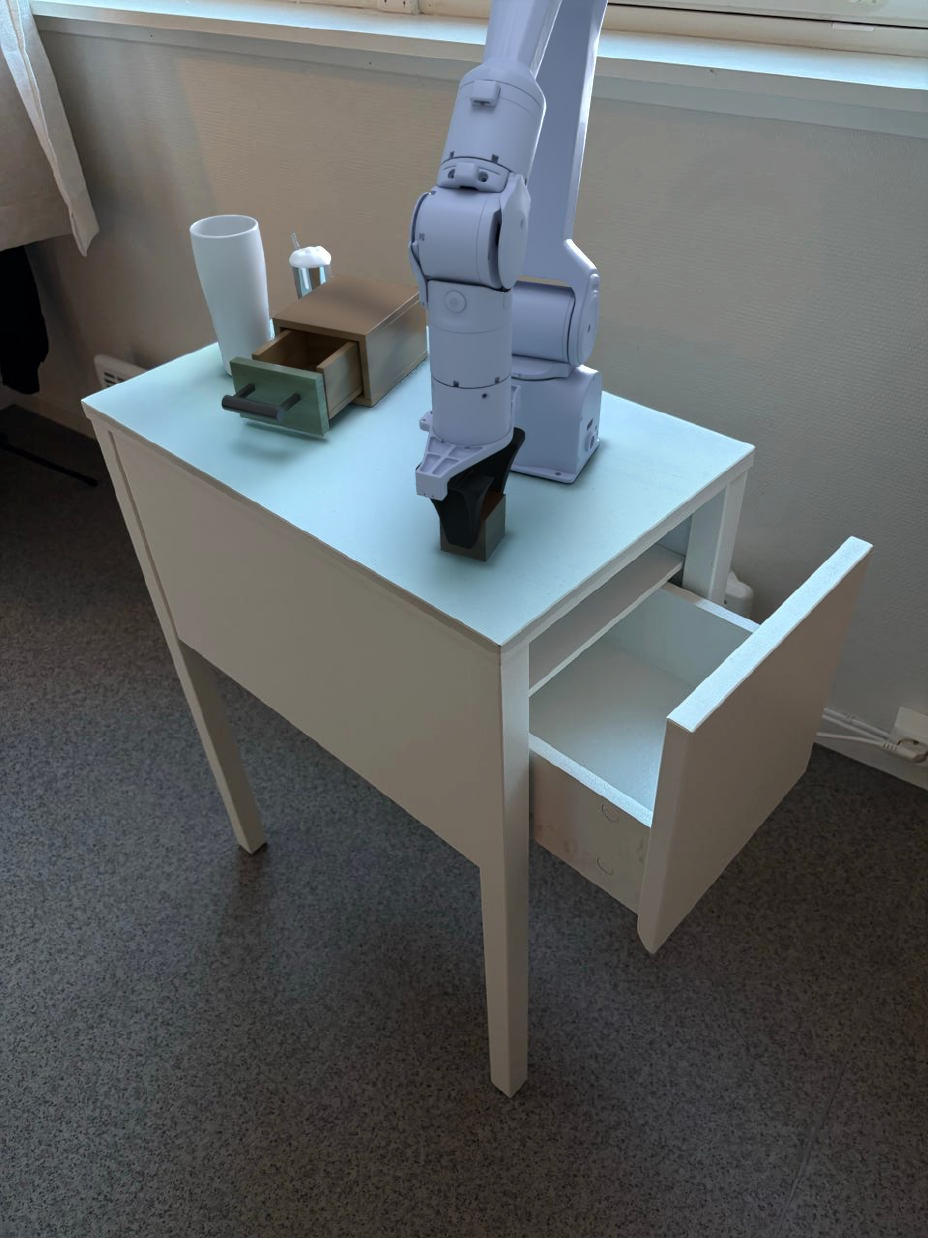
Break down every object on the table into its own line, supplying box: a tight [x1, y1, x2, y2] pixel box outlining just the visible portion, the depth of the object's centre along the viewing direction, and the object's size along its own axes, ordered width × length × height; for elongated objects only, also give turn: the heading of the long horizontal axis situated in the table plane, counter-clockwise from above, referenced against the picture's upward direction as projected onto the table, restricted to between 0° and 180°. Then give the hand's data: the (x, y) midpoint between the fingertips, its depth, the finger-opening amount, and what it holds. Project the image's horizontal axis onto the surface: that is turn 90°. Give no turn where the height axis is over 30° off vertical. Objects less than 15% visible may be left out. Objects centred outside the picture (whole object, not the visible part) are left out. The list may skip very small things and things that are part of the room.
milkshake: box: [288, 232, 332, 300], centre depth 103 cm, size 5×5×10 cm
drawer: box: [221, 328, 364, 437], centre depth 88 cm, size 16×9×6 cm, turn 155°
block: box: [438, 490, 507, 563], centre depth 73 cm, size 4×4×4 cm
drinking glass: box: [188, 214, 272, 377], centre depth 94 cm, size 7×7×15 cm
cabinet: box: [271, 273, 429, 408], centre depth 95 cm, size 13×11×8 cm
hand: (473, 528), depth 73 cm, fingers closed on block, 4 cm apart
